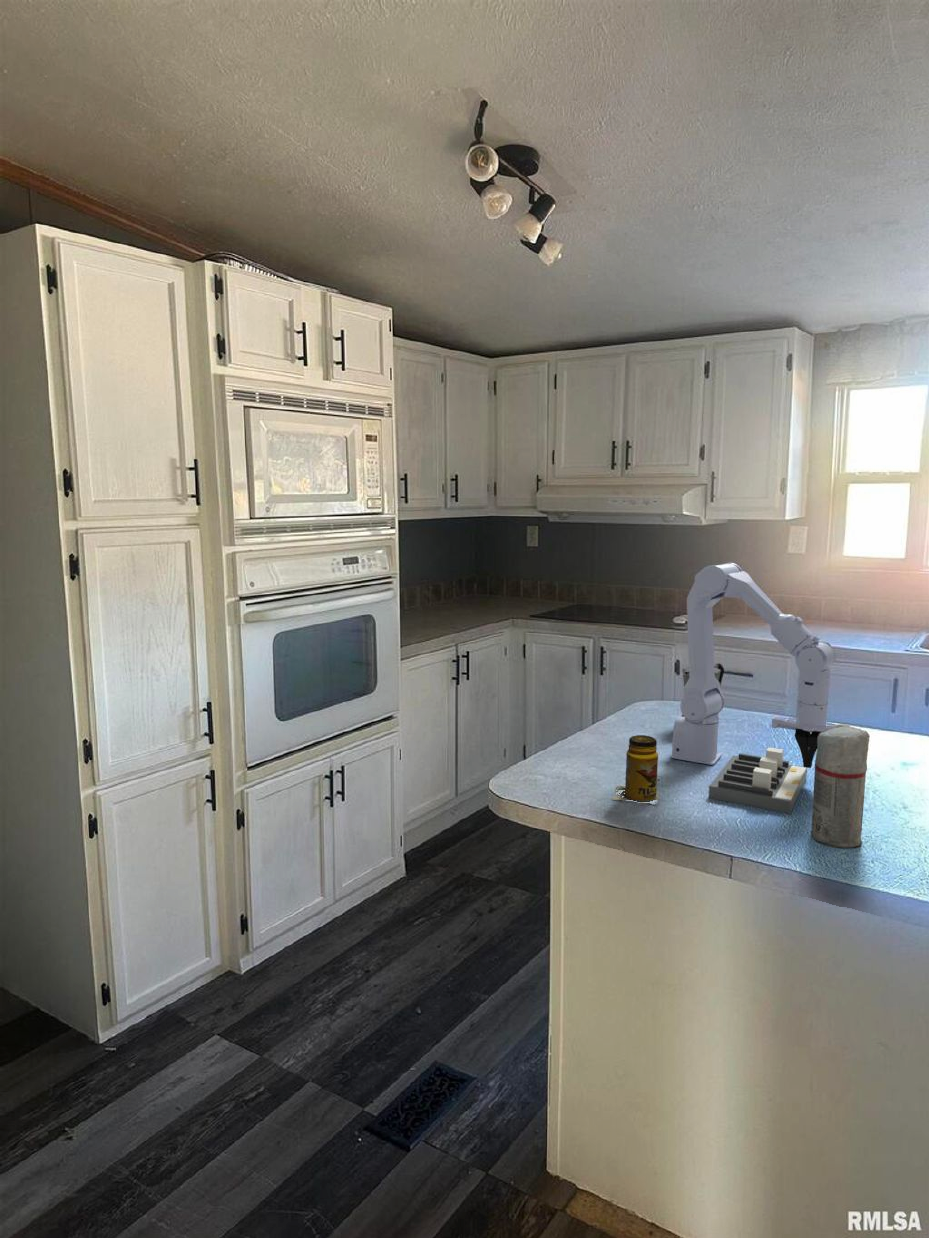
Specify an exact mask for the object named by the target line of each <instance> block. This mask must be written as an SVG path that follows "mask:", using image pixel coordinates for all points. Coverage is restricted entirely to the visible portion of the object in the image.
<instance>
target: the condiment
mask: <svg viewBox="0 0 929 1238" xmlns="http://www.w3.org/2000/svg"><path fill="white" fill-rule="evenodd" d="M628 742H629V744H628V750H627V751H626V758H625V762H626V763H625V765H626V766H625V779H624V780H625V785H624V786H623V785H616V787H615V790H614V792H615V791H616V790H618V791H619V790H625V791H623V792H622V793H621V794H620V793H619V794H620V795H618V794H617V795H616V794H615V795H614V794H613V797H612V801H619V800H623V801H622V802H627V801H626V800H633V801H637V802H650V801H653V800H658V801H659V795H660V790H657V788H658V762H659V754H658V751H657V739H656V738H654V737H653V736H649V735H644V734H643V735H642V734H636V735H632V736H631V737H629V739H628ZM618 791H616V792H618ZM624 793H625V794H624ZM622 796H624V797H625V798H624V797H623V798H622ZM658 801H657V802H655V804H652V805H653V806H657V805H658ZM628 802H629V803H632V802H631V801H628Z"/></svg>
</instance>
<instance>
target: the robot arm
mask: <svg viewBox="0 0 929 1238" xmlns="http://www.w3.org/2000/svg"><path fill="white" fill-rule="evenodd" d="M723 597H725V598H731V599H739V600H742V601H743V602H744V603H745V604H746V605H748V607H750V608H751V609H752V610H753V611H754V612H756V614H757V615H759V616H760V617H761V618H762V619H763V620H764V621H765V622H766V623H768V625H770V634H771V636H773V637H774V638H775V640H777V641H778V643H779V644H780V645H782V646H783V647H784V649H786V650H787V651H788V653H789V654H791V656H792V657H794V662H795V665H796V667H797V669H798V670H799V675H798V684H797V697H796V698H797V699H796V711H795V717H783V716H773V717H772V719H771V728H772V729H778V728H779V729H785V730H786V729H787V730H794V732H795V733H794V739H795V741H796V743H797V745H798V748H799V751H800V754H801V758H802V767H806V768H807V769H811V768H812V767H813V761H814V757H815V756H816V753H817V738H818V735H819V734H820V733H822V732H826V731H828V730H829V729H830V728H831V727H832V726H836V725H838V724H836V723H833V722H828V708H829V706H828V705H829V697H830V696H829V694H830V681H831V680H830V678H831V676H830V675H831V667H832V666H833V664H834V663H835V661H836V652H835V650H834V648H833V647H832V645H831V644H830V643H829V642H828V641H826V640H825V641H824V640H820V639H821V637H819V636H818V635H814V634H813V633H812V632H811V631H810V630H809V629H808V628H807V627H806V626H805V625H804V624H803V621H804V620H803V619H802V618H801V616H797V617H796V616H795V615H794V614H787V613H786V614H785V613H783V612H782V611H781V610H780V609H779V608H778V606H777V605H776V604H775V603H774V602H773V601H772V600H771V599H770V598H769V597H768V596H767V594H765V592H764V591H763V590H762V589H761V588H760V587H759V586H758V585H757V584H756V582H754V580H753V579H752V577H751V575H750V574H749V573H748V572H746V571H743V569H742V568H741V567H740V566H739V565H738V564H736V563H734V562H726V563H721V564H717V565H713V564H712V565H708V566H705V567H704V568H703V569H701V570H700V571H699V572H697V574H695V575H694V582H693V585H692V586H691V589H690V591H689V593H688V595H687V597H686V616H687V618H686V621H687V643H688V644H687V645H688V648H687V649H688V666H689V676H690V677H689V680H688V682H687V683H686V685H685V687H684V686H683V696H682V699H681V701H680V704H679V706H680V707H679V708H680V711H681V715H682V714H683V716H684V717H682V716H676V718H675V720H674V724H673V729H672V744H671V745H672V749H671V750H672V751H671V756H670V758H671V759H675V760H681V761H685V762H686V761H687V762H692V763H698V764H705V765H709V766H714V765H716V763H717V762H718V761H719V759H720V758H721V757H722V755H723V754H722V753H721V752H718V739H719V723H720V721H719V713H721V712H723V711H722V710H723V709H724V708H725V705H726V704H725V702H726V700H725V697H724V695H723V693H722V691H721V685H720V683H719V681H718V680H717V679H716V677H715V669H714V664H715V644H714V618H713V616H714V615H713V612H714V611H713V608H714V607H713V606H715V605H716V604H717V603H718V602H719V601H720V600H722V598H723Z"/></svg>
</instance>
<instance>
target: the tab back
mask: <svg viewBox="0 0 929 1238" xmlns="http://www.w3.org/2000/svg"><path fill="white" fill-rule="evenodd" d="M784 752H785V751H784V749H782V748H781V749H780V748H775V747H770V746H768V748H767V749H766V751H765V757H766V758H772V759H778V763H777V766H779V767H782V766H783V760H784Z"/></svg>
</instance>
